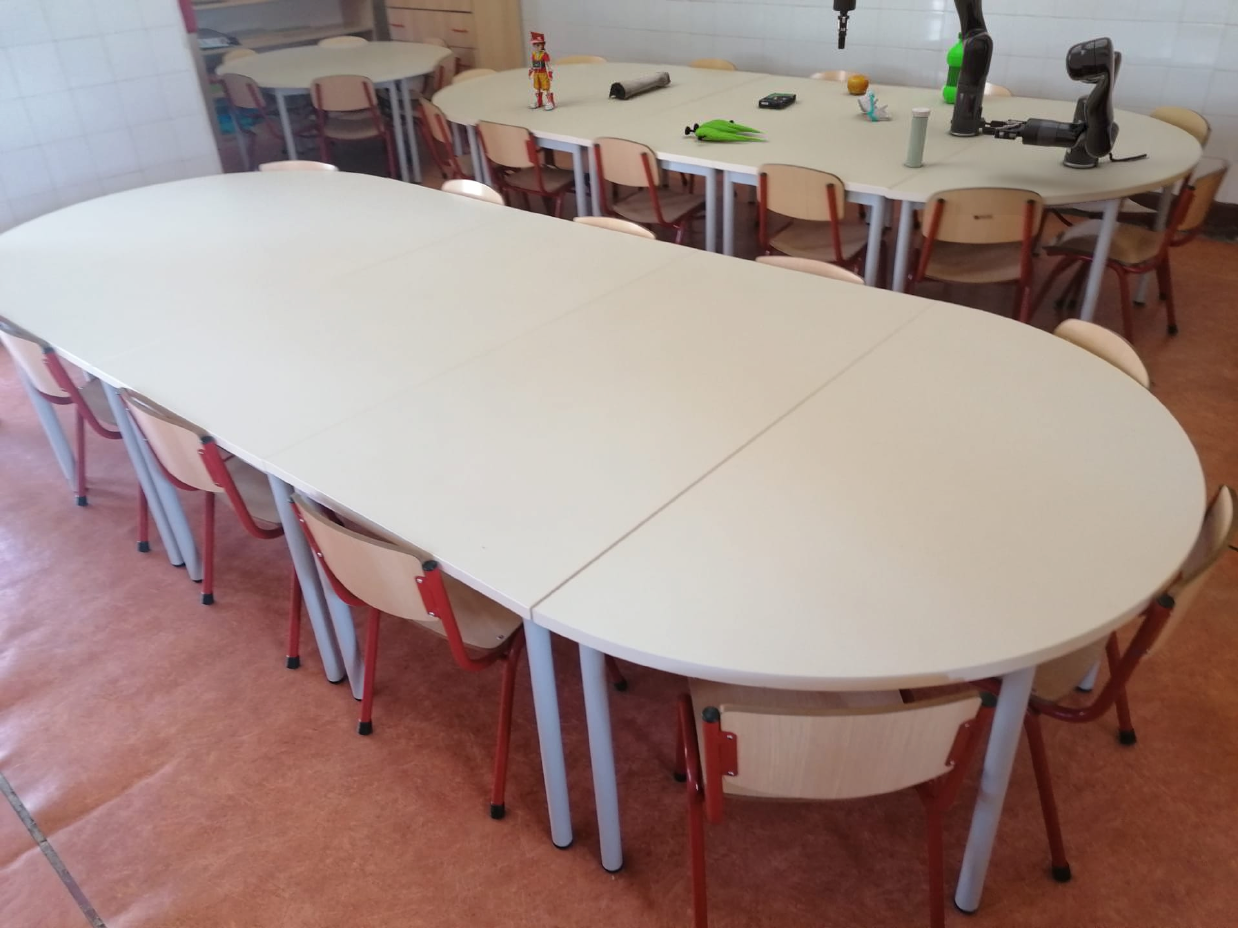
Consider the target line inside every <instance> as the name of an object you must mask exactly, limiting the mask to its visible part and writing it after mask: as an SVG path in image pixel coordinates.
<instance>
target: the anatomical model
mask: <svg viewBox="0 0 1238 928" xmlns="http://www.w3.org/2000/svg"><path fill="white" fill-rule="evenodd" d="M875 98H876V95H875V93H874V92H872V91H871V90H869V89H867V90H866V93H865V94H864V95H861V96H858V98H857V102H858V104H859V107H860V110H861V112H863V113H867V114H868V116H869V118H870V119H871V121H873V122H876V121H877V122H878V121H879V120H890V119H891V118H892V115H891V114H887V113H885V111H886V109H887V108H888V104H885V105H882V106H877V105H876V104H877V103H878V101H879V98H876V99H875Z"/></svg>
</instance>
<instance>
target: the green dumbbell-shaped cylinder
mask: <svg viewBox="0 0 1238 928" xmlns="http://www.w3.org/2000/svg"><path fill="white" fill-rule="evenodd" d="M957 39H958V42H957V43H956V44H954V45H953V46H952V47H951V48H950V49H949V50H948V52H947V54H946V63H947V64H948V69H947V70H948V71H947V76H946V77H947V78H946V84H945V85H944V87H943V90H942V97H943V99H944V100H945V101H946V102H947V103H948V104H954V103H955V96H956V90H957V83H958V77H959V73H960V70H961V65H962V59H963V50H962V35H961V31H959V32H958V36H957Z"/></svg>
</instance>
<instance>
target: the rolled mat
mask: <svg viewBox="0 0 1238 928" xmlns="http://www.w3.org/2000/svg"><path fill="white" fill-rule="evenodd" d="M671 83H672V81H671V77H670V74H669V72H668V71H658V72H654V73H649V74H645V75H640V76H637V77H633V78H628V79H623V80H620V81H616V82H613V83H612V84H611V85H610V89H609V95H608V97H609V98H611V97H616V99H620V100H622V101H623V100H626V99H627V98H629V97H630V96H632V95H635V94H636V93H638V92H640V91H643V90H644V89H647V88H650V87H655V86H658V87H659V86H661V87H665V86H669V85H670V84H671Z"/></svg>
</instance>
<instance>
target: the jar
mask: <svg viewBox="0 0 1238 928" xmlns="http://www.w3.org/2000/svg"><path fill="white" fill-rule="evenodd" d="M928 121H929V116H927V117H915V116H912V117H911V126H910V131H909V140H908V148H907V156H906V164H905V165H906V166H907V167H909V168H919V167H921V166H922V164H923V158H924V150H925V144H926V143H925V142H926V136H927V128H928Z"/></svg>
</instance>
